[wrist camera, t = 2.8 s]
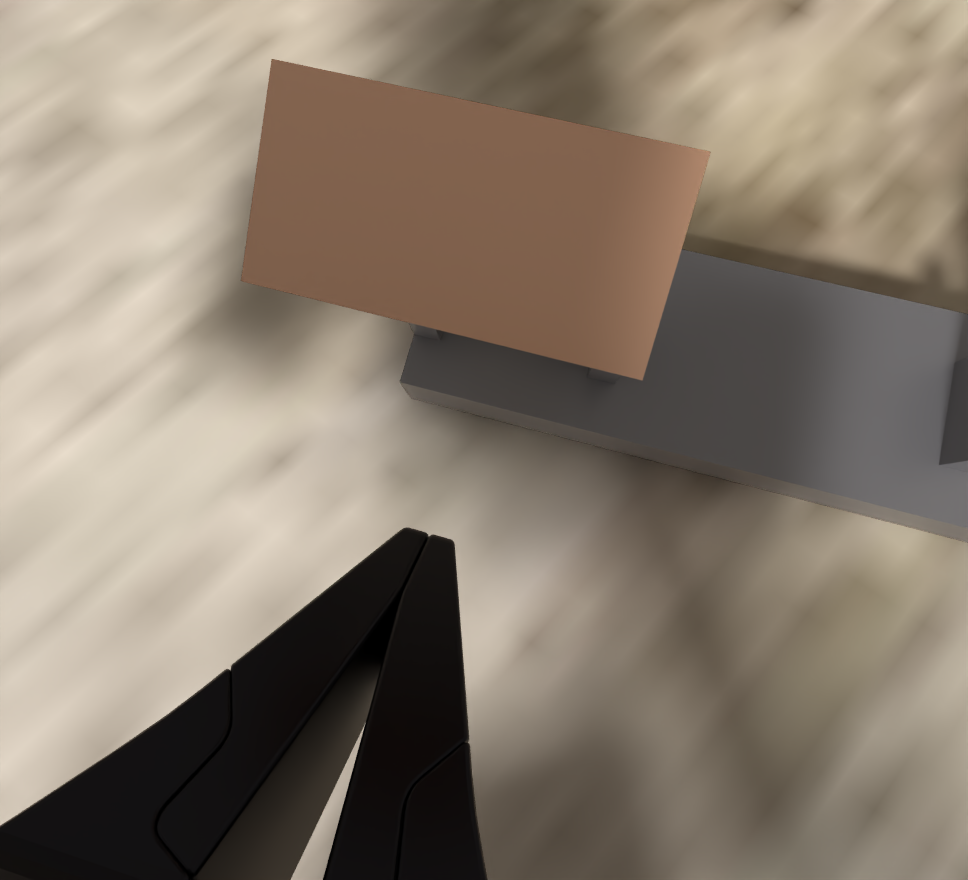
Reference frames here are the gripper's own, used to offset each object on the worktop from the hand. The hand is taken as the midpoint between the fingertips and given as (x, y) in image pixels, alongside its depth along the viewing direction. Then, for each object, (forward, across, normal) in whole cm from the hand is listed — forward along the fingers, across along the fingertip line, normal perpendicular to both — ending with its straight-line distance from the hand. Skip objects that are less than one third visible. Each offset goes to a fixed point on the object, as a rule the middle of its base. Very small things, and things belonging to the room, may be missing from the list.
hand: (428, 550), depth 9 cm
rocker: (+9, 0, -1) cm, 9 cm away
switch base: (+11, -8, +1) cm, 13 cm away
